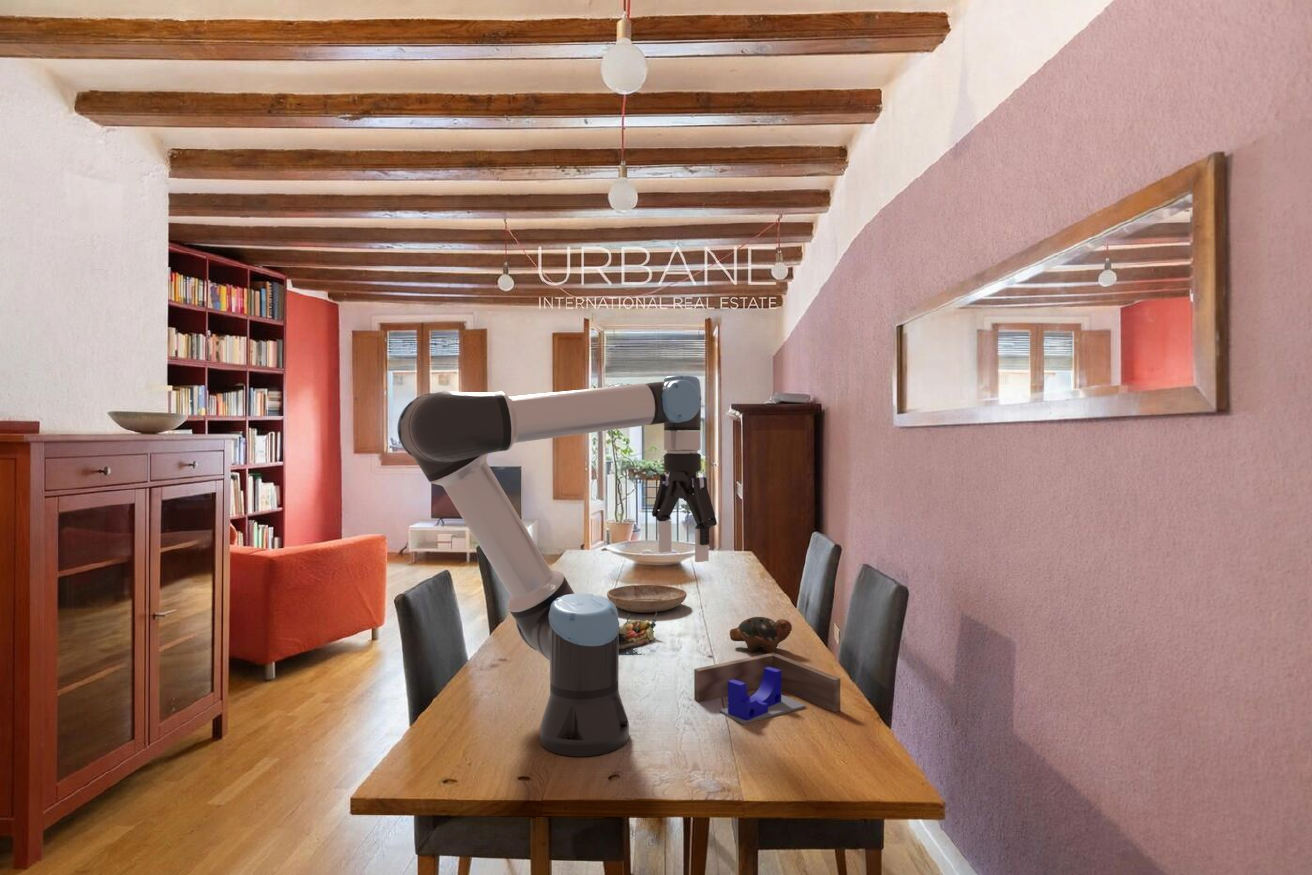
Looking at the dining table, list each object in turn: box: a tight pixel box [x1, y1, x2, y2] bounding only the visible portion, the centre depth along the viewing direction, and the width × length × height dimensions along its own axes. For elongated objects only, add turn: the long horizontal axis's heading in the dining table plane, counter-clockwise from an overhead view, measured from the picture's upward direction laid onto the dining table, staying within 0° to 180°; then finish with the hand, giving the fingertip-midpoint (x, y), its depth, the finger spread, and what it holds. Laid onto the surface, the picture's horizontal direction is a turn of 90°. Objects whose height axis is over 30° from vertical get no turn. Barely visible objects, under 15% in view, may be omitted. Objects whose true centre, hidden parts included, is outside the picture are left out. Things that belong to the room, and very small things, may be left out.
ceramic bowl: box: [606, 584, 688, 614], centre depth 218 cm, size 23×24×5 cm
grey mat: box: [718, 694, 806, 725], centre depth 138 cm, size 15×7×1 cm, turn 121°
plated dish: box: [619, 612, 658, 656], centre depth 183 cm, size 35×28×7 cm
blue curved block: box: [727, 667, 782, 721], centre depth 138 cm, size 12×4×6 cm, turn 133°
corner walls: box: [693, 652, 841, 713], centre depth 141 cm, size 20×19×6 cm
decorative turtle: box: [729, 616, 793, 654], centre depth 176 cm, size 10×15×8 cm, turn 73°
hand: (682, 556), depth 150 cm, fingers open, 13 cm apart
